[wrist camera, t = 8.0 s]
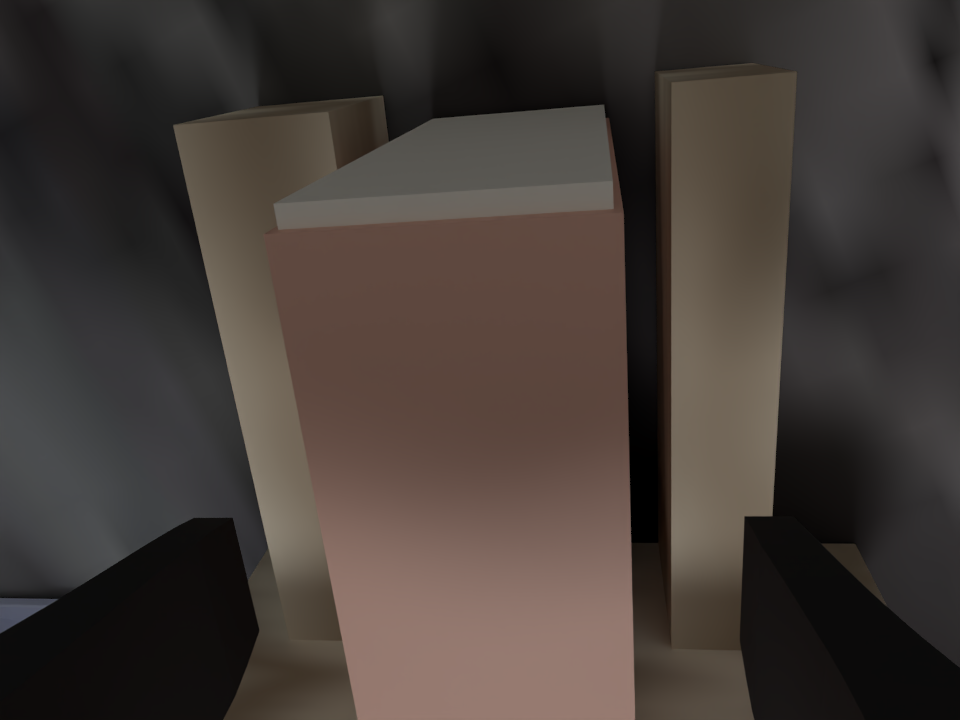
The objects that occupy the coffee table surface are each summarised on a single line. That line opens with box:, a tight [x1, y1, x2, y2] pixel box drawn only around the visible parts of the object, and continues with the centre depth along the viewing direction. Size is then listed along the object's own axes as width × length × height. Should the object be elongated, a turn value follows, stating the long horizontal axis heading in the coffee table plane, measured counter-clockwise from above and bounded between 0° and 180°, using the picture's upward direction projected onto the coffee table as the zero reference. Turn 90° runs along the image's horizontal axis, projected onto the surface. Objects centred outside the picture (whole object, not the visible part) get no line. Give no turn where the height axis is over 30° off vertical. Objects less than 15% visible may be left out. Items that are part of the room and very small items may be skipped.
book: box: [263, 105, 635, 720], centre depth 15 cm, size 4×10×10 cm, turn 5°
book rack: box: [173, 63, 886, 720], centre depth 16 cm, size 16×14×9 cm
